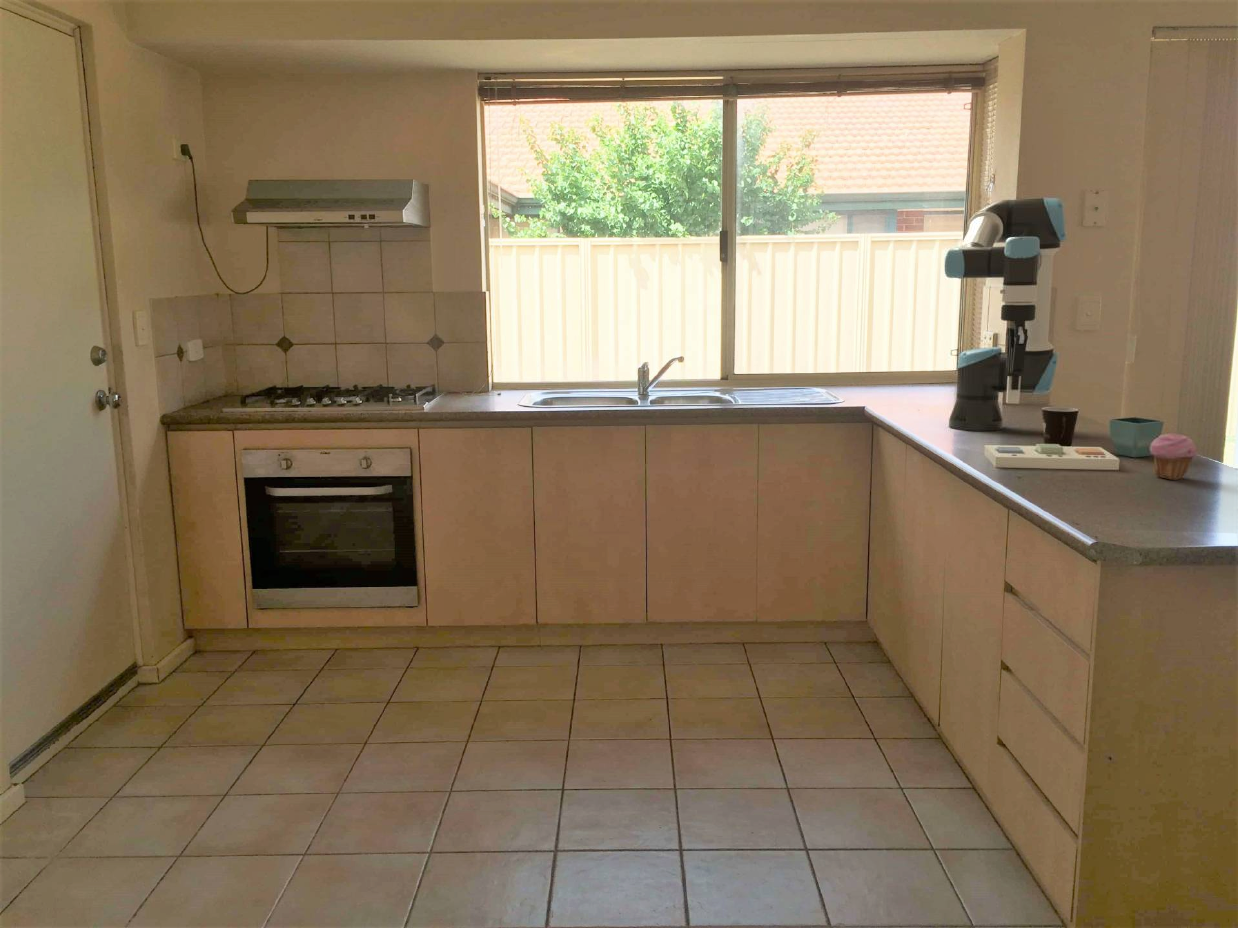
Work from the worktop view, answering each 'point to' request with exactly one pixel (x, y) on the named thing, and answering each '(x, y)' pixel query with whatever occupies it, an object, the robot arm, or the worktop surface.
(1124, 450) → the flower pot
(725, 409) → the worktop surface
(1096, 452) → the button
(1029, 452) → the panel
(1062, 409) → the coffee mug
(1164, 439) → the cupcake
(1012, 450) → the button
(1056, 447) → the button
